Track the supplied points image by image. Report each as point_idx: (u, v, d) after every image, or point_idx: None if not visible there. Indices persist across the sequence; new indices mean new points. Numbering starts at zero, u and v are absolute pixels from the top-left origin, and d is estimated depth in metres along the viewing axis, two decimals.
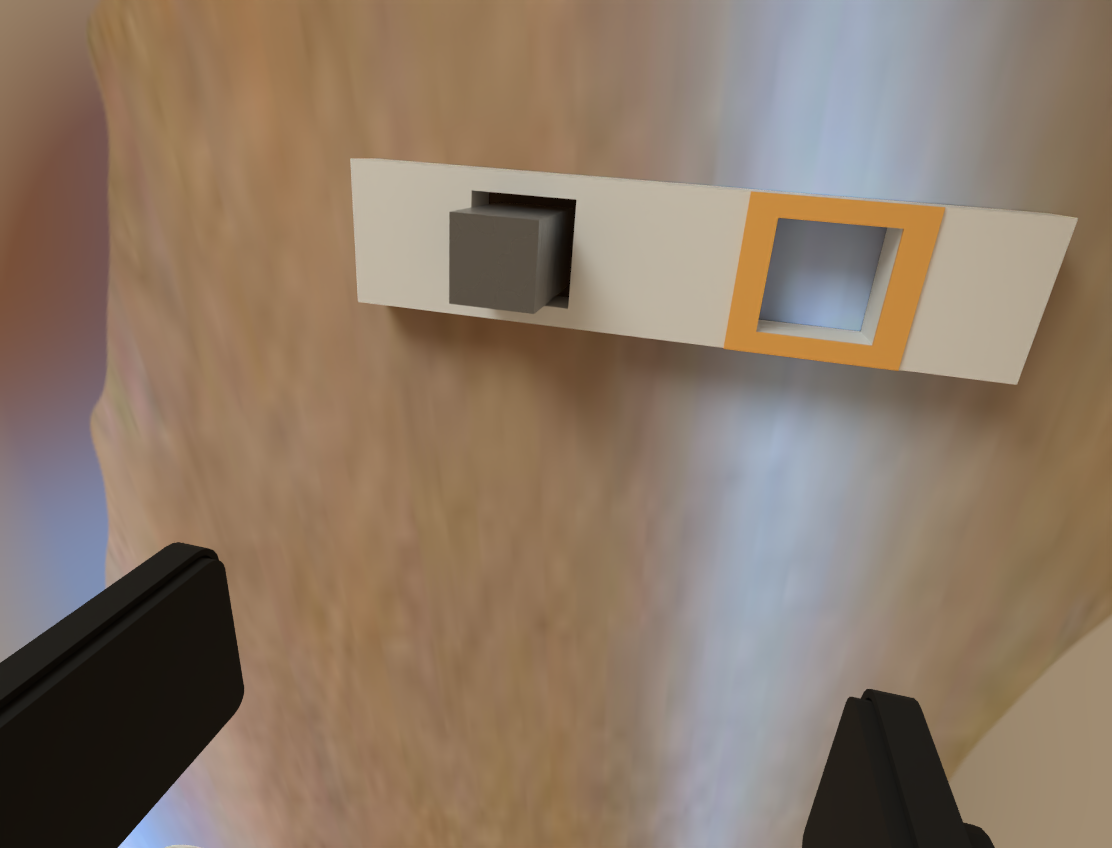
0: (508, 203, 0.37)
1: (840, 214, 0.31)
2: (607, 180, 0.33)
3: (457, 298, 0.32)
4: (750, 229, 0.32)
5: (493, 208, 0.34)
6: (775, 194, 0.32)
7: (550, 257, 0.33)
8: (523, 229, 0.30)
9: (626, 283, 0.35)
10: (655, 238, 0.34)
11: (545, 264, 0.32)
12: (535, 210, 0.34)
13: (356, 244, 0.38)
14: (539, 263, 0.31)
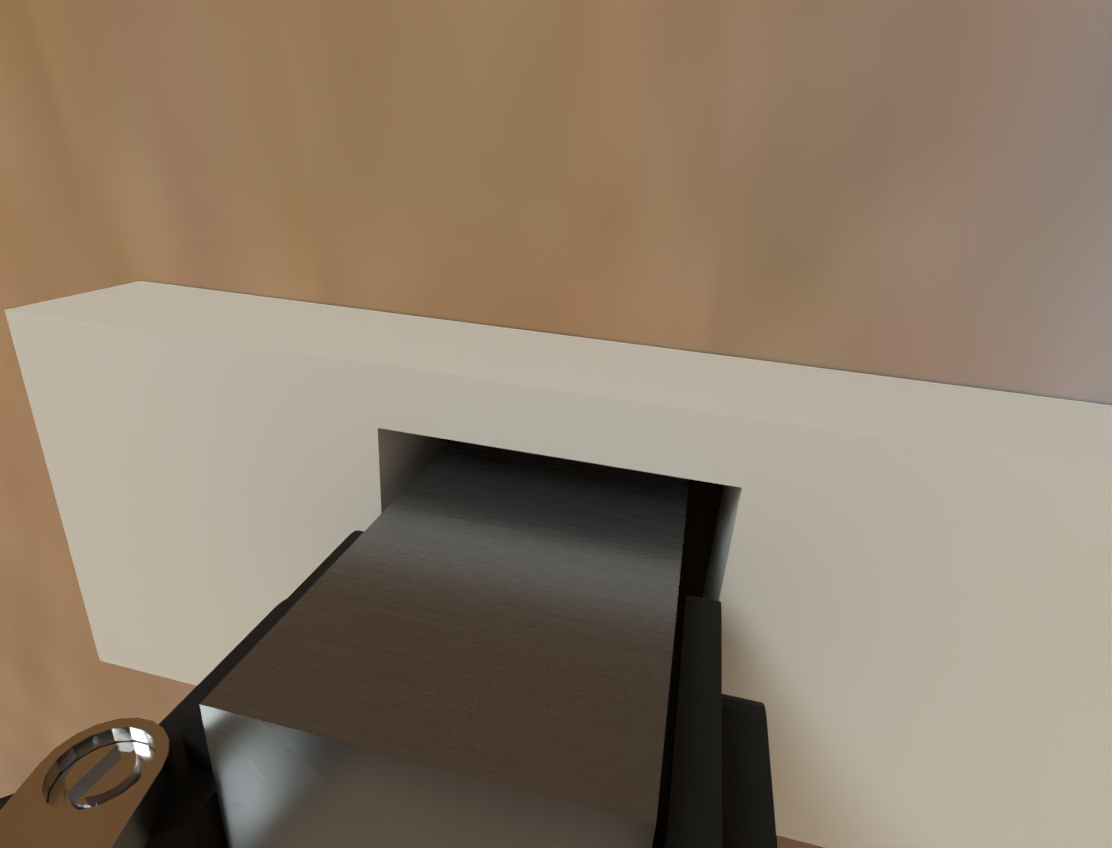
0: None
1: None
2: (871, 437, 0.09)
3: None
4: None
5: (441, 532, 0.09)
6: None
7: None
8: (568, 838, 0.06)
9: (893, 737, 0.11)
10: (1031, 635, 0.09)
11: None
12: (591, 520, 0.10)
13: (69, 533, 0.13)
14: None
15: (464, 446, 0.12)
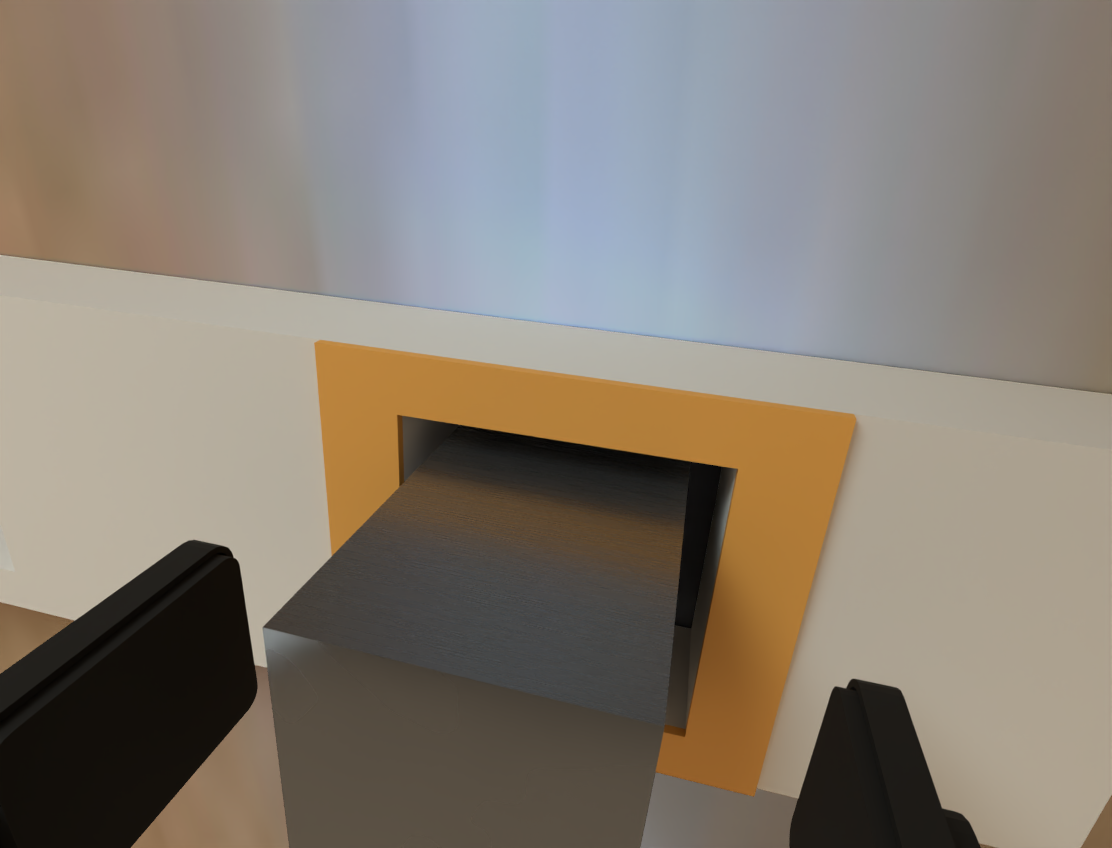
0: None
1: (556, 419, 0.11)
2: None
3: None
4: (337, 438, 0.12)
5: (465, 494, 0.10)
6: (377, 353, 0.11)
7: None
8: (587, 742, 0.07)
9: (109, 532, 0.14)
10: (135, 441, 0.13)
11: None
12: (601, 486, 0.11)
13: None
14: None
15: None
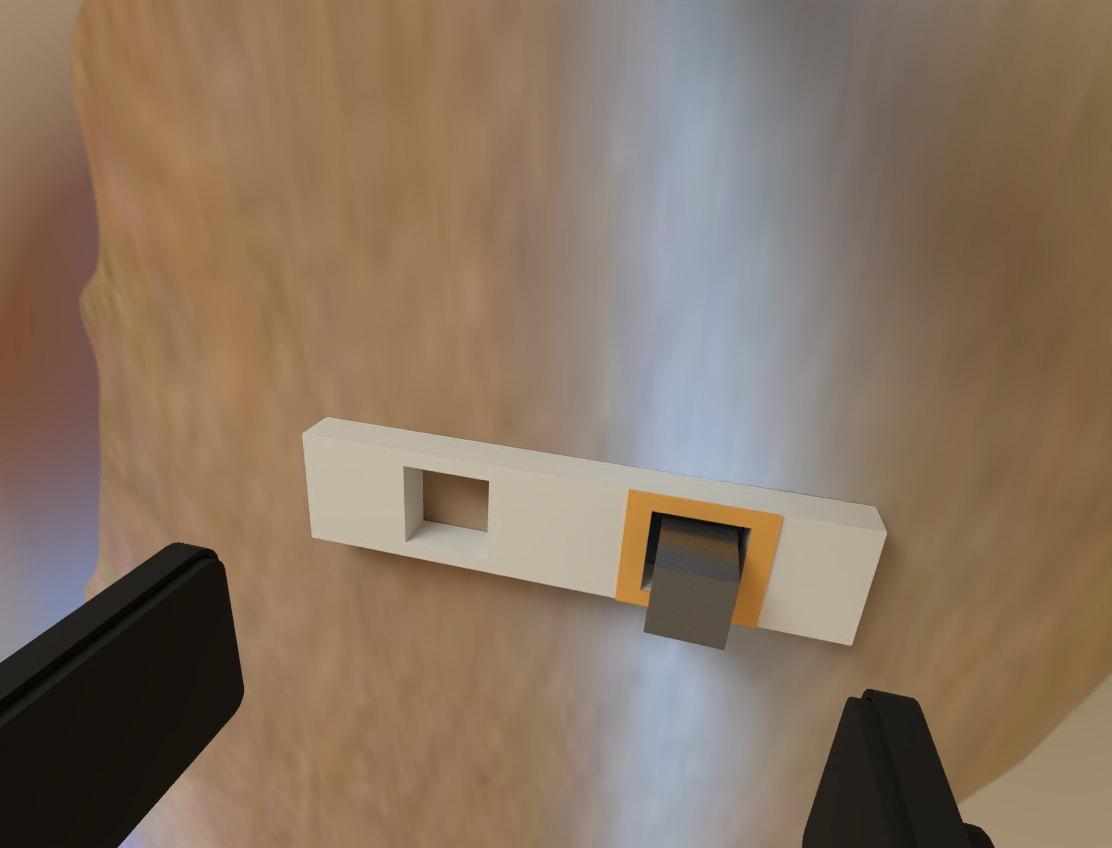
0: None
1: (700, 513, 0.38)
2: (513, 469, 0.40)
3: (652, 629, 0.36)
4: (630, 516, 0.39)
5: (678, 535, 0.37)
6: (648, 494, 0.38)
7: None
8: (724, 588, 0.34)
9: (533, 544, 0.42)
10: (554, 515, 0.40)
11: None
12: (713, 532, 0.38)
13: (309, 495, 0.44)
14: None
15: None
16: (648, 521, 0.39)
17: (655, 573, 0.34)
